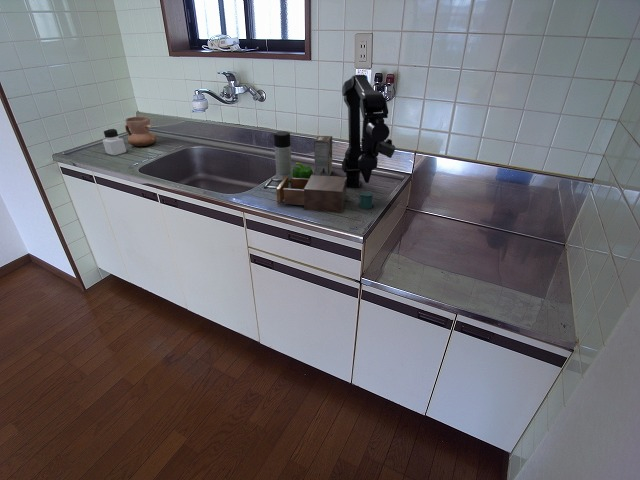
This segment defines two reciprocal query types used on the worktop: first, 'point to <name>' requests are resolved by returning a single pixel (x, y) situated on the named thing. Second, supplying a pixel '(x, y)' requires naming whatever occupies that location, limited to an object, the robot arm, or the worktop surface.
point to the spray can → (283, 155)
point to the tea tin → (366, 199)
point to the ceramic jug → (139, 131)
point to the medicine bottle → (113, 142)
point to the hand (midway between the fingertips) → (367, 178)
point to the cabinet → (325, 193)
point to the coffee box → (323, 155)
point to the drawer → (289, 190)
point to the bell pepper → (302, 171)
